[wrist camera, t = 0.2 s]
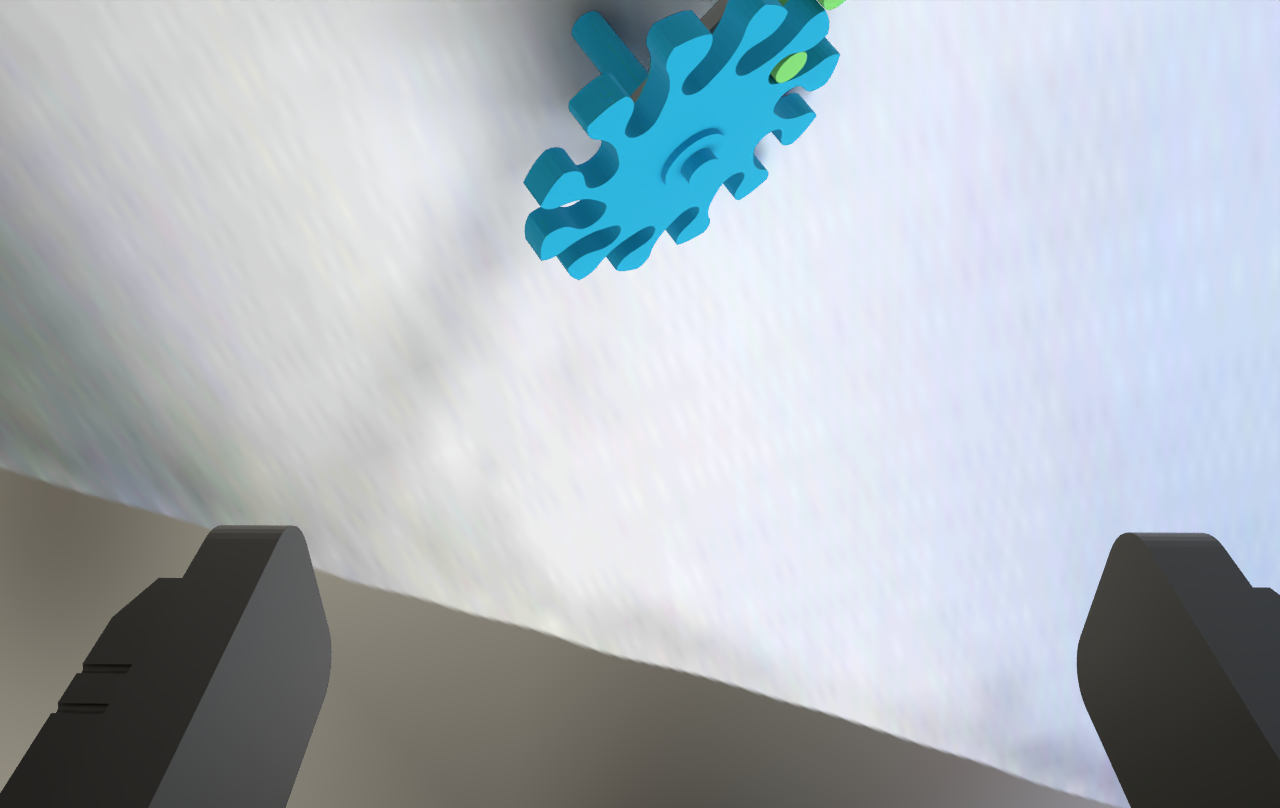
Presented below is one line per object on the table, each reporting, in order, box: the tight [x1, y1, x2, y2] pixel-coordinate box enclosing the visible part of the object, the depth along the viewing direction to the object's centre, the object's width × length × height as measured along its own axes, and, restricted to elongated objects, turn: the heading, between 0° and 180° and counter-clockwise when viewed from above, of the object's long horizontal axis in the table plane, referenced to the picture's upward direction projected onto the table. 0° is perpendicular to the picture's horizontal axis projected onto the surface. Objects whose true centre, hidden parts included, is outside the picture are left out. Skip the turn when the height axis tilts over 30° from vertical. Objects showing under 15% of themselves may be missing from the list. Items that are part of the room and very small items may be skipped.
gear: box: [523, 0, 845, 280], centre depth 27 cm, size 11×6×10 cm
